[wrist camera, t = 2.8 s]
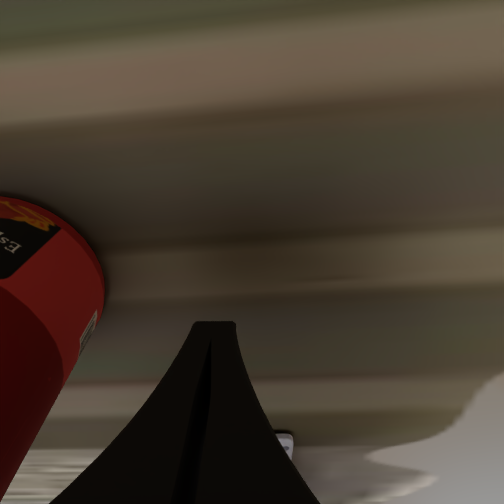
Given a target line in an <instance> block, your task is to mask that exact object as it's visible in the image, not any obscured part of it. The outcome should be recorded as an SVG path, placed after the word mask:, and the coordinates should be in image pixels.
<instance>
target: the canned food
mask: <svg viewBox="0 0 504 504" xmlns="http://www.w3.org/2000/svg"><path fill="white" fill-rule="evenodd" d="M104 296H105V283H104V277H103V273H102V269H101V266H100V264H99V262H98V260H97V257H96V255H95V253H94V252H93V250H92V249H91V248H90V246H89V245H88V244H87V242H86V241H85V239H84V238H83V237H82V236H81V235H80V234H79V233H78V232H77V231H76V230H75V229H74V228H73V227H72V226H70V225H69V224H68V223H66V222H65V221H63V220H62V219H61V218H59V217H58V216H57V215H55V214H53V213H51V212H49V211H47V210H45V209H43V208H42V207H40V206H37V205H34V204H31V203H29V202H26V201H23V200H19V199H14V198H8V197H2V196H0V502H1V500H2V498H3V496H4V494H5V492H6V491H7V489H8V487H9V485H10V483H11V481H12V480H13V478H14V476H15V474H16V472H17V470H18V469H19V467H20V465H21V463H22V461H23V459H24V458H25V456H26V454H27V452H28V450H29V448H30V446H31V445H32V443H33V441H34V439H35V437H36V435H37V434H38V432H39V430H40V428H41V426H42V424H43V423H44V421H45V419H46V417H47V415H48V413H49V411H50V410H51V408H52V406H53V404H54V402H55V400H56V399H57V397H58V395H59V393H60V391H61V389H62V388H63V386H64V384H65V382H66V380H67V378H68V376H69V375H70V373H71V371H72V369H73V367H74V365H75V364H76V362H77V360H78V358H79V356H80V354H81V353H82V351H83V349H84V347H85V345H86V343H87V342H88V340H89V338H90V336H91V334H92V332H93V330H94V329H95V327H96V325H97V323H98V321H99V319H100V318H101V314H102V310H103V305H104Z"/></svg>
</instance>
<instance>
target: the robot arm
mask: <svg viewBox="0 0 504 504" xmlns="http://www.w3.org/2000/svg"><path fill="white" fill-rule="evenodd" d="M292 452H293V437H292V436H291V435H290V434H275V432H274V431H273V429H272V427H271V425H270V423H269V421H268V419H267V417H266V415H265V413H264V411H263V409H262V407H261V405H260V403H259V401H258V398H257V396H256V394H255V391H254V389H253V387H252V384H251V382H250V379H249V377H248V374H247V371H246V368H245V365H244V362H243V359H242V356H241V353H240V349H239V345H238V340H237V335H236V324H235V323H234V322H233V321H196V322H195V323H194V324H193V326H192V328H191V330H190V332H189V334H188V336H187V338H186V340H185V342H184V344H183V346H182V348H181V349H180V351H179V353H178V355H177V356H176V358H175V359H174V361H173V363H172V364H171V366H170V368H169V369H168V371H167V372H166V374H165V375H164V377H163V378H162V380H161V381H160V383H159V384H158V385H157V387H156V388H155V390H154V391H153V393H152V394H151V395H150V397H149V398H148V399H147V401H146V402H145V403H144V405H143V406H142V407H141V408H140V410H139V411H138V412H137V413H136V415H135V416H134V417H133V418H132V420H131V421H130V422H129V423H128V424H127V426H126V427H125V428H124V429H123V430H122V431H121V432H120V433H119V435H118V436H117V437H116V438H115V439H114V440H113V441H112V442H111V444H110V445H109V446H108V447H107V448H106V449H105V450H104V451H103V452H102V453H101V454H100V455H99V456H98V457H97V458H96V459H95V460H94V461H93V462H92V463H91V464H90V465H89V466H88V467H87V468H86V469H85V470H84V471H83V472H82V473H81V474H80V475H79V476H78V477H77V478H76V479H75V480H74V481H73V482H72V483H71V484H70V485H69V486H68V487H67V488H66V489H65V490H63V491H62V492H61V493H60V494H59V495H58V496H57V497H56V498H55V499H53V500H52V501H51V502H50V503H49V504H320V503H319V501H318V500H317V499H316V497H315V496H314V494H313V493H312V492H311V490H310V489H309V487H308V486H307V484H306V483H305V481H304V480H303V478H302V477H301V475H300V474H299V472H298V471H297V469H296V468H295V466H294V464H293V463H292V461H291V460H292Z"/></svg>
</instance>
